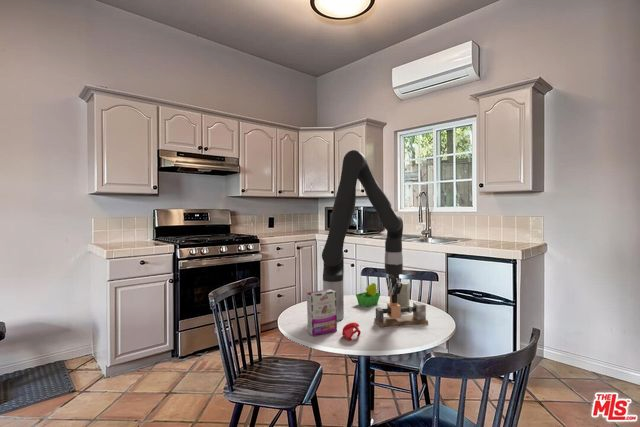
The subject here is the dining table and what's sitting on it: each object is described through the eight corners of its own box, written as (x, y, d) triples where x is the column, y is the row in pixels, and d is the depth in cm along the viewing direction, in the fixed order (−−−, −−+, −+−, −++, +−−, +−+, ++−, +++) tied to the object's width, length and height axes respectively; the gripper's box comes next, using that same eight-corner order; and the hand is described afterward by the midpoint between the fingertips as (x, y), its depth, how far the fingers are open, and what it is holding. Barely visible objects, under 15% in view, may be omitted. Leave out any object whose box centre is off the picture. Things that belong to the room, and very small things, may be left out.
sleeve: (391, 318, 148) (391, 294, 148) (387, 314, 153) (387, 291, 153) (400, 318, 149) (400, 294, 149) (396, 314, 154) (395, 291, 154)
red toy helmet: (366, 329, 135) (357, 318, 139) (357, 328, 131) (348, 316, 135) (353, 344, 137) (345, 333, 141) (344, 344, 132) (336, 332, 136)
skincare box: (409, 307, 174) (409, 282, 173) (408, 309, 170) (407, 284, 169) (396, 305, 176) (396, 281, 176) (394, 308, 172) (394, 283, 172)
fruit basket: (370, 300, 187) (370, 279, 186) (383, 304, 180) (383, 282, 179) (354, 304, 179) (354, 282, 179) (367, 308, 173) (367, 285, 172)
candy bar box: (331, 327, 147) (330, 288, 146) (337, 331, 142) (336, 291, 142) (306, 332, 142) (306, 292, 141) (312, 336, 137) (311, 294, 137)
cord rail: (380, 327, 146) (380, 309, 146) (374, 321, 154) (374, 303, 154) (428, 324, 150) (427, 306, 149) (419, 318, 157) (419, 300, 157)
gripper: (379, 259, 156) (380, 298, 157) (391, 265, 143) (391, 307, 144) (395, 259, 158) (396, 297, 158) (408, 264, 144) (408, 306, 145)
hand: (393, 302), depth 151 cm, fingers closed
